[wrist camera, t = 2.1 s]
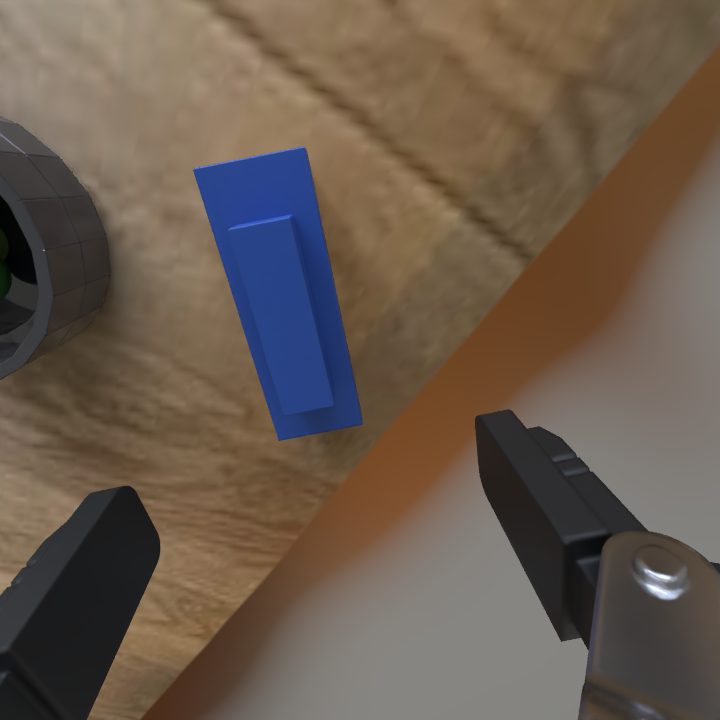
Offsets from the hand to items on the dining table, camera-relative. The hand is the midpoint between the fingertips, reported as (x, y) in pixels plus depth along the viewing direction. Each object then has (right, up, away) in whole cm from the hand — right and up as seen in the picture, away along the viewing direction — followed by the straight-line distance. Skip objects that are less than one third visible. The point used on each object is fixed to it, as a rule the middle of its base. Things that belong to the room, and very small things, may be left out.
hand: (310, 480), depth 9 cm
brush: (-3, +7, +14) cm, 16 cm away
